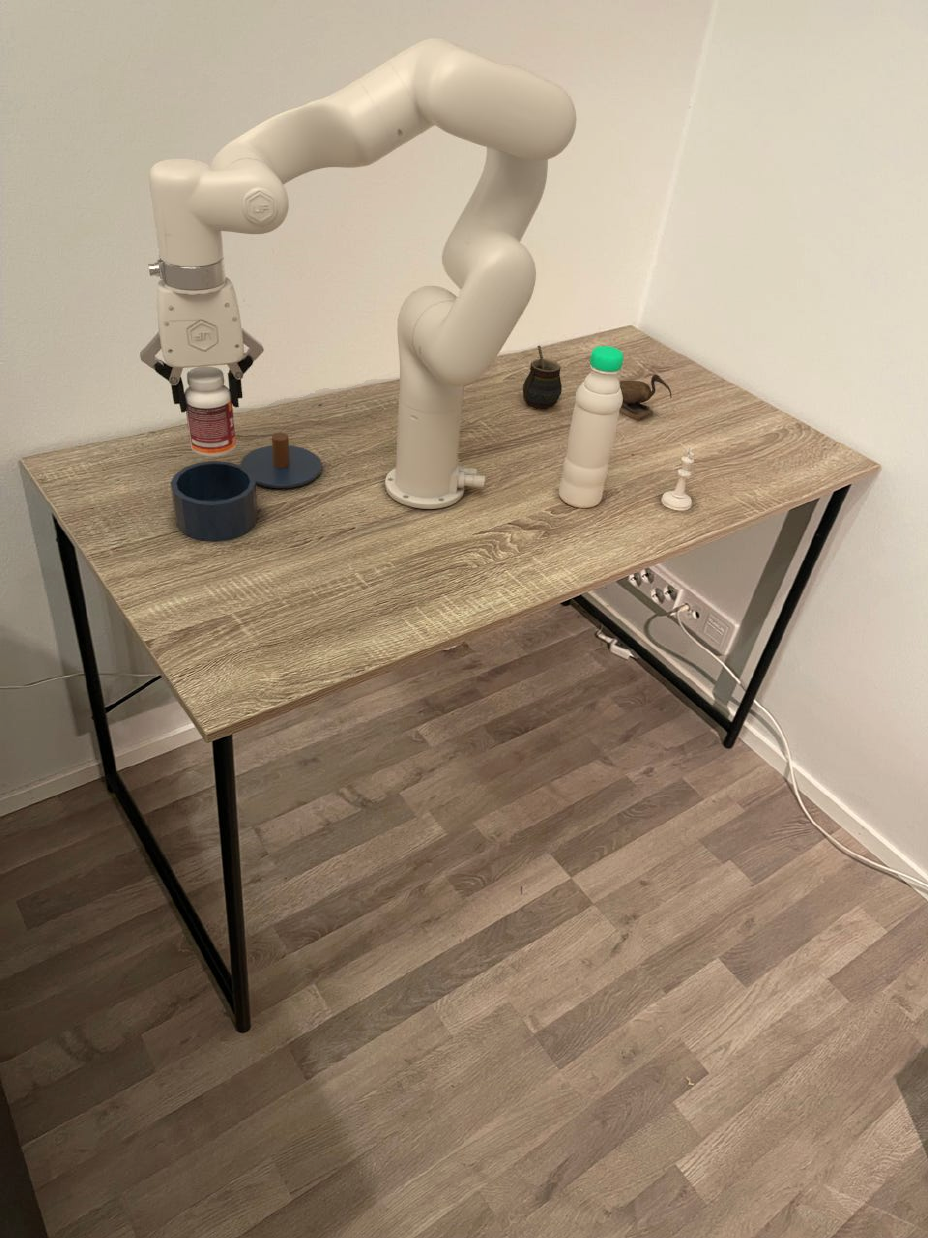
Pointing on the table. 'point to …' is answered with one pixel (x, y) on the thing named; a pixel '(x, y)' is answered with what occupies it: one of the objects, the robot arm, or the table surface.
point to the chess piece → (680, 486)
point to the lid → (282, 464)
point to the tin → (214, 500)
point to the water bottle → (592, 430)
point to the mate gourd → (542, 384)
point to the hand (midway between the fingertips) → (208, 404)
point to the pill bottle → (209, 413)
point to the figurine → (638, 397)
